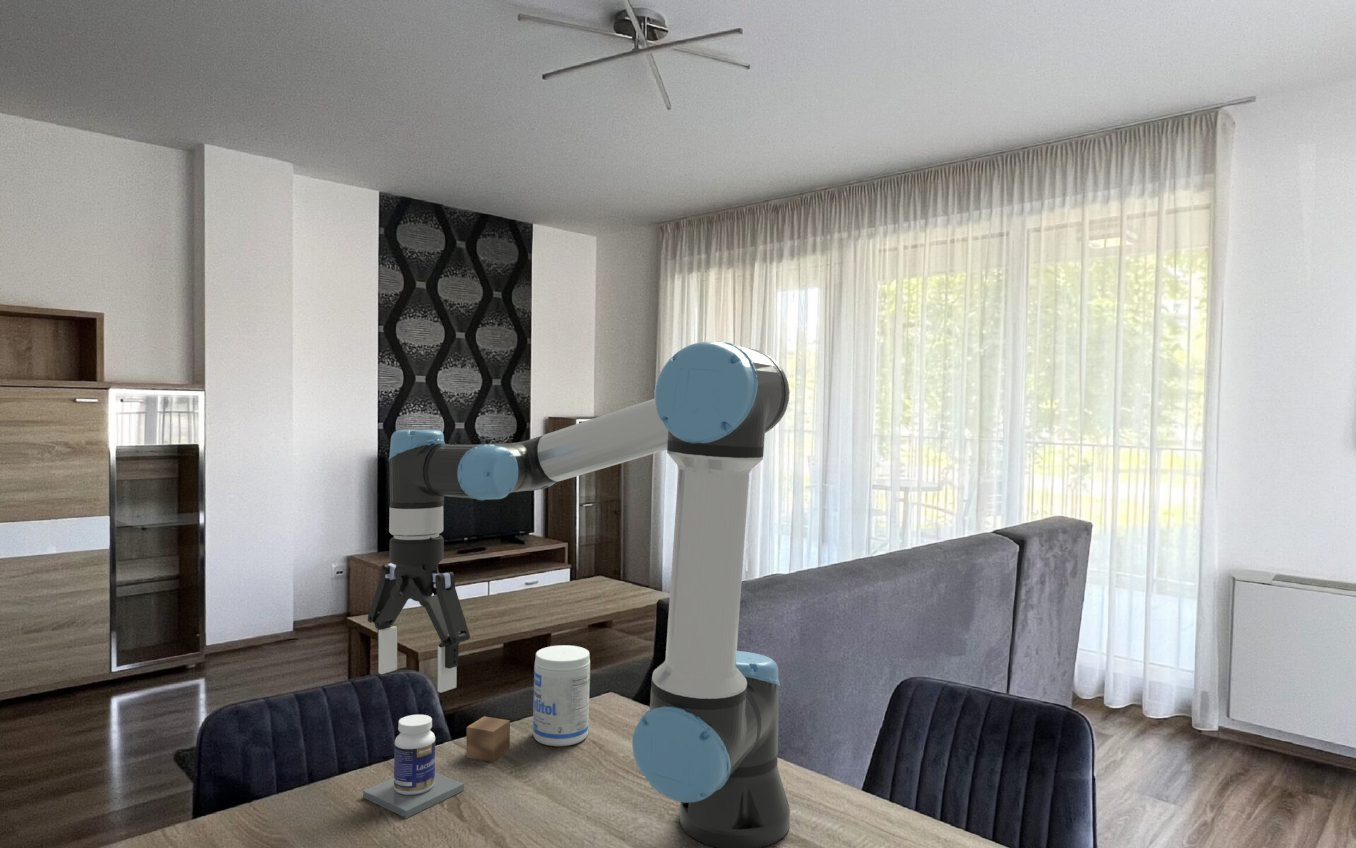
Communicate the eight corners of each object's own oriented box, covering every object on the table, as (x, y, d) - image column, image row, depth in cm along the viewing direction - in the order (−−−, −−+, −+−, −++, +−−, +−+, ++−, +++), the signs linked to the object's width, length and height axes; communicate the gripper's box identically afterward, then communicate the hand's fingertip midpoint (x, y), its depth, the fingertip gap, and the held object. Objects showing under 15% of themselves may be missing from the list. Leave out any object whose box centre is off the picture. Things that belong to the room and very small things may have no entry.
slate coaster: (463, 790, 119) (463, 784, 119) (406, 818, 111) (406, 811, 111) (420, 772, 125) (420, 766, 125) (363, 797, 116) (363, 790, 116)
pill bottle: (422, 798, 114) (422, 729, 114) (386, 794, 115) (386, 725, 115) (442, 780, 120) (442, 714, 120) (407, 776, 121) (407, 711, 121)
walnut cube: (509, 750, 133) (509, 720, 133) (492, 762, 129) (493, 731, 129) (483, 746, 135) (484, 716, 135) (466, 757, 130) (466, 727, 130)
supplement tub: (521, 741, 137) (522, 655, 137) (554, 722, 145) (555, 641, 145) (568, 753, 133) (569, 664, 132) (599, 733, 141) (600, 649, 141)
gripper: (495, 540, 113) (494, 690, 114) (386, 525, 128) (386, 658, 128) (452, 547, 107) (452, 705, 107) (343, 530, 121) (343, 670, 122)
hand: (416, 680), depth 118 cm, fingers open, 13 cm apart
